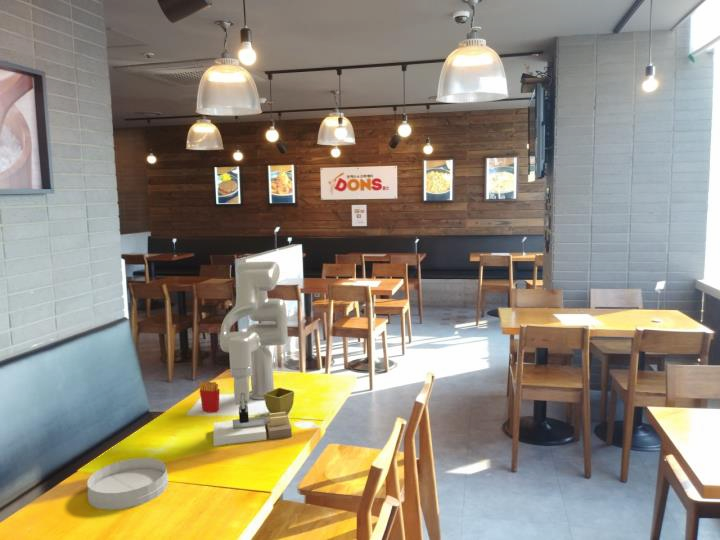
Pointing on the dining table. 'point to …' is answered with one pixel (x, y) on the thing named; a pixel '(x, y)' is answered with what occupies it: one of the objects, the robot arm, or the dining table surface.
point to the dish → (127, 483)
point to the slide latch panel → (252, 430)
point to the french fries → (209, 396)
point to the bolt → (250, 422)
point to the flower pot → (279, 400)
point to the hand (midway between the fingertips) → (244, 420)
